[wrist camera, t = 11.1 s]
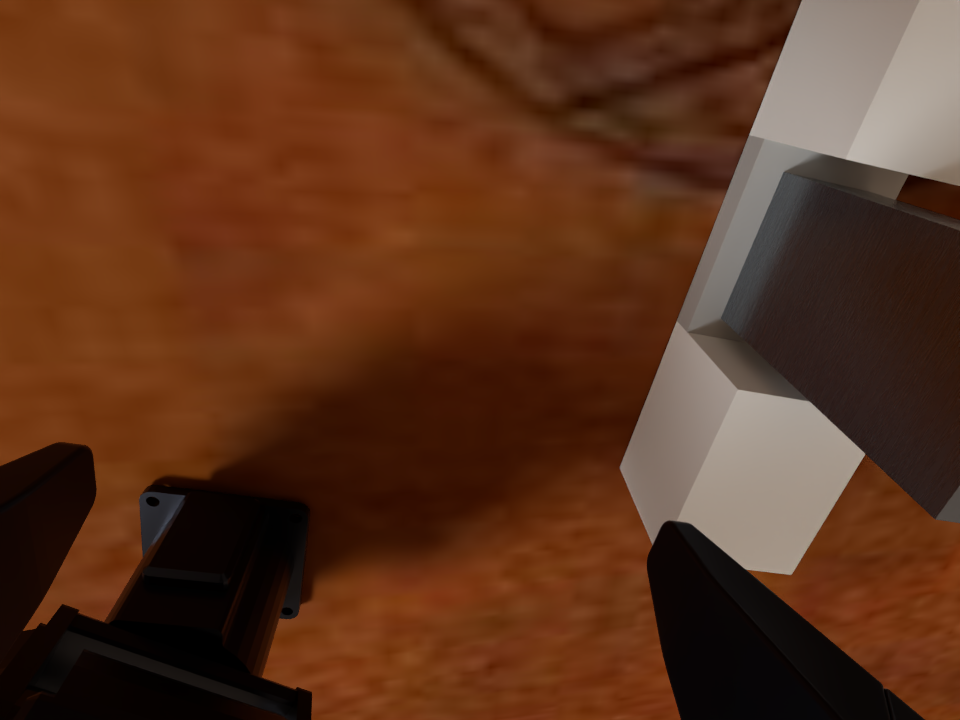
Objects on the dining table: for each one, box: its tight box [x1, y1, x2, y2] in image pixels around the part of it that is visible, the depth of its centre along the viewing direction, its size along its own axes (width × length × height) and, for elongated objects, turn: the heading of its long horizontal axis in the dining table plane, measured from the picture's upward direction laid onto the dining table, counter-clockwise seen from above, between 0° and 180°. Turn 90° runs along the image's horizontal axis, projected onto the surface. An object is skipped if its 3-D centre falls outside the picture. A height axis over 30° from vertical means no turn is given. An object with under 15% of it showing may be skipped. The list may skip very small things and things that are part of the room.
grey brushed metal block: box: [721, 172, 960, 523], centre depth 15 cm, size 5×3×10 cm, turn 168°
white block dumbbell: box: [620, 0, 960, 575], centre depth 18 cm, size 20×5×5 cm, turn 168°
